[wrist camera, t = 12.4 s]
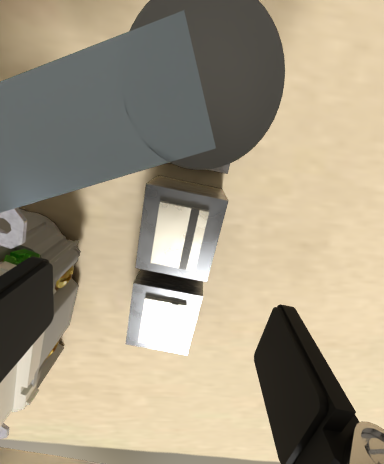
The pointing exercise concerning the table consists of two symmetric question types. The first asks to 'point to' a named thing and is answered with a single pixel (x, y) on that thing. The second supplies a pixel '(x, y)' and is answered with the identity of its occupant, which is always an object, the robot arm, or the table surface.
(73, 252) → the electrical outlet
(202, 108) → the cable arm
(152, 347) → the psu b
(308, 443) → the robot arm
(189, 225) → the frame
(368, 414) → the table surface
